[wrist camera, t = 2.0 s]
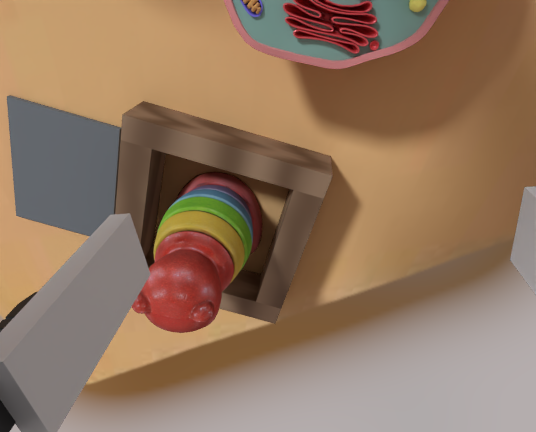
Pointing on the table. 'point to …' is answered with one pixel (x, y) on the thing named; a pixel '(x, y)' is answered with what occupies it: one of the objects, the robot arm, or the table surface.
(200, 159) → the square wooden frame
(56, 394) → the robot arm
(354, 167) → the table surface
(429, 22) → the cell model
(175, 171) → the table surface
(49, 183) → the rubber mat
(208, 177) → the stacking bear
